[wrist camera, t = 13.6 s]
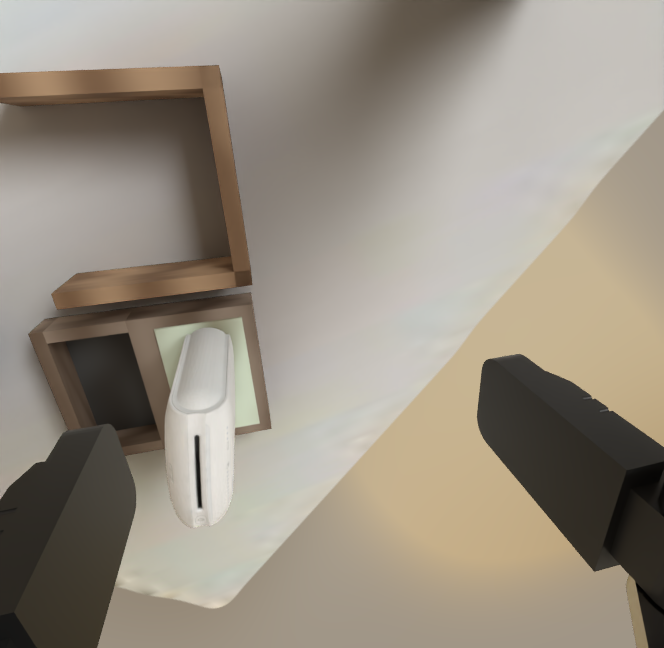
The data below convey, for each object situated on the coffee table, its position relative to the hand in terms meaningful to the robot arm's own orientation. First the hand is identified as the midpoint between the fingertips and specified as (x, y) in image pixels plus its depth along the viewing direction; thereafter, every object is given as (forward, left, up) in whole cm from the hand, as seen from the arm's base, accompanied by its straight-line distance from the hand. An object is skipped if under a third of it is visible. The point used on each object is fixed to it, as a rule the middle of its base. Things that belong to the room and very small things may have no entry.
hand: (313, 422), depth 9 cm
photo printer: (+6, +13, -25) cm, 29 cm away
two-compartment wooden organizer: (+10, +13, -28) cm, 33 cm away
